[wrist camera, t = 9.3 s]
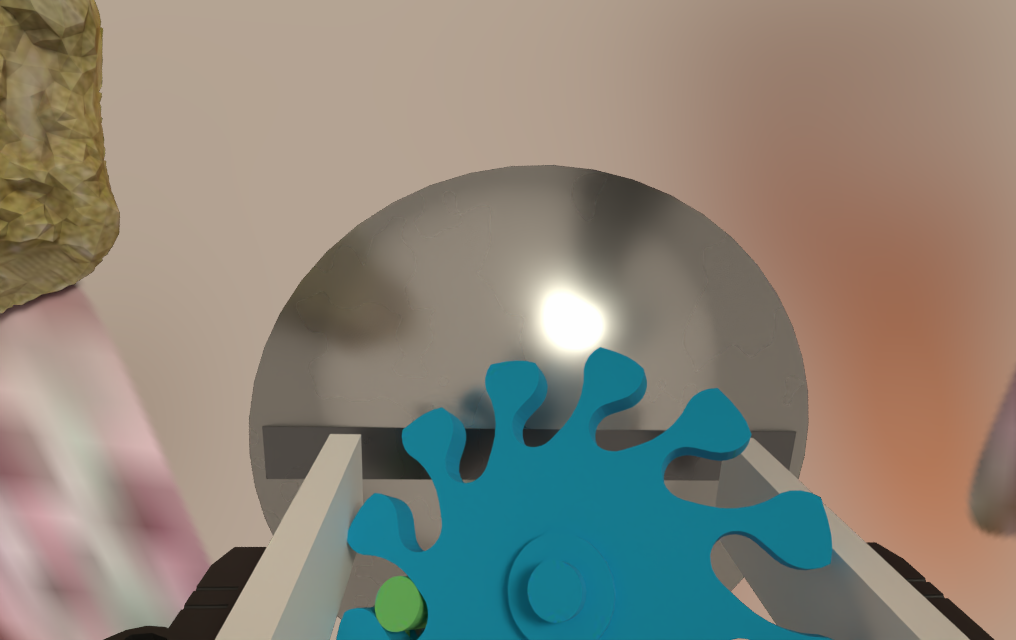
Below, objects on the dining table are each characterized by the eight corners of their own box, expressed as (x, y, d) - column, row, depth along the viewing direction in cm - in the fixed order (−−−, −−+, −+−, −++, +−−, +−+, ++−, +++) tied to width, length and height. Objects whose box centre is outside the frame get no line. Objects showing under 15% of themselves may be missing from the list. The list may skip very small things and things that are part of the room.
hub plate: (244, 153, 14) (223, 150, 13) (828, 178, 15) (858, 178, 14) (282, 652, 18) (269, 685, 17) (745, 643, 19) (762, 674, 18)
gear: (719, 273, 11) (1049, 942, 7) (715, 370, 17) (899, 789, 12) (269, 427, 13) (265, 1035, 8) (388, 472, 18) (429, 869, 14)
